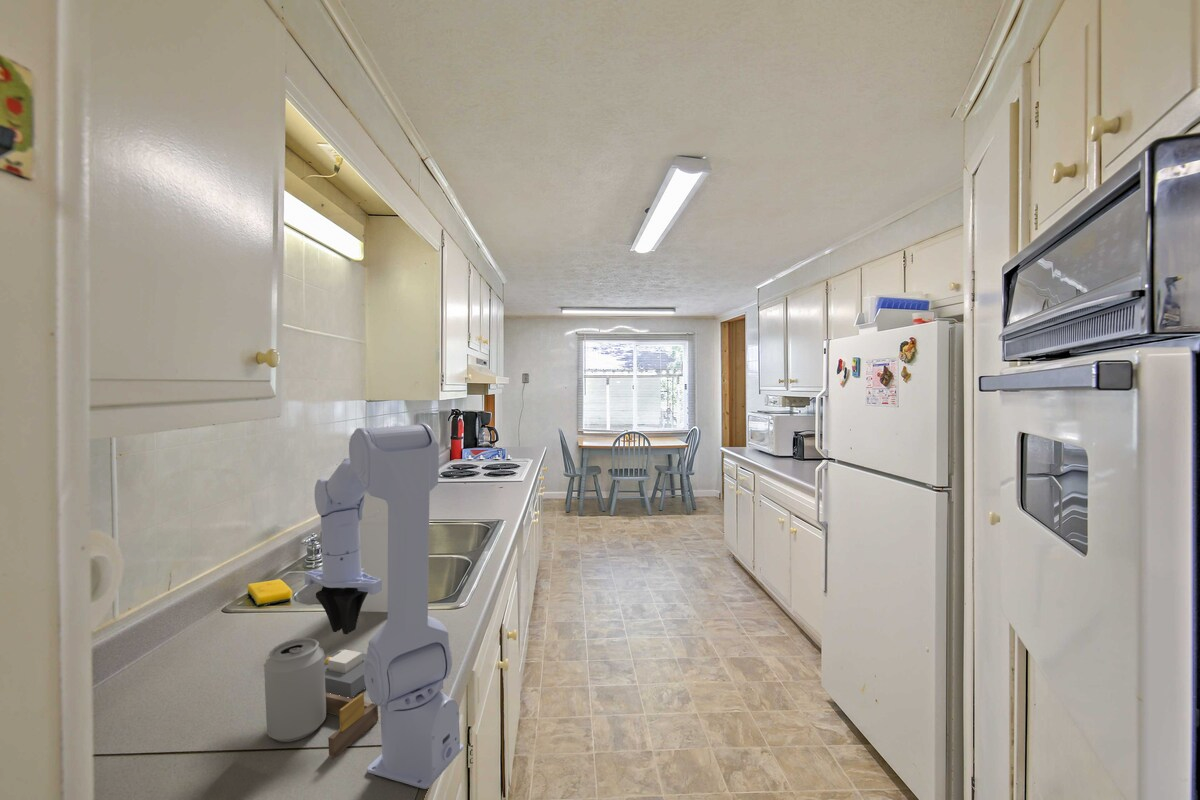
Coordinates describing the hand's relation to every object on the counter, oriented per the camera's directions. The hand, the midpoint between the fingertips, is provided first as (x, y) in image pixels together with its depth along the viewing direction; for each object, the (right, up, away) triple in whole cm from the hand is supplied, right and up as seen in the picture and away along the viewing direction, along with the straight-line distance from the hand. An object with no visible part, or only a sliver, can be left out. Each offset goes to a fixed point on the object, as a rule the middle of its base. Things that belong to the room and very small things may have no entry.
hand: (344, 630), depth 90 cm
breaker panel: (0, -8, 0) cm, 8 cm away
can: (-1, -9, -12) cm, 15 cm away
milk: (-7, -7, +32) cm, 34 cm away
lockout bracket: (+4, -9, -13) cm, 16 cm away
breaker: (0, -7, 0) cm, 7 cm away
